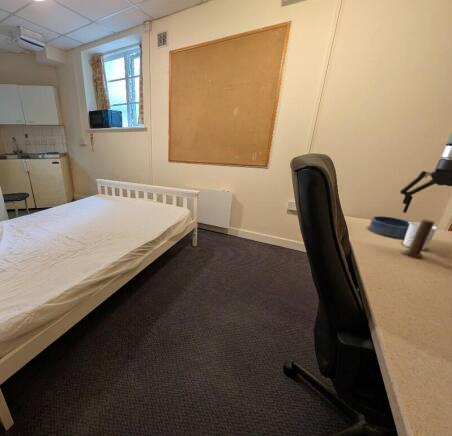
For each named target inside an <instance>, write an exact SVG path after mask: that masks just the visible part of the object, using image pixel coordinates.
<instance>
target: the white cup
mask: <svg viewBox="0 0 452 436" xmlns="http://www.w3.org/2000/svg"><path fill="white" fill-rule="evenodd" d="M410 222H411V223H410V224H409V227H408V230H407V232H406V236H405V238H404V240H403V245H404V246H405V247H407V248H410V246H411V244H412V242H413V239H414V237H415V235H416V233H417V230H418V228H419V226H420V224H421V222H417V221H410ZM437 230H438V227H436V226H435V225H433V227H432V229H431V231H430V233H429V235H428V238H427V240H426V242H425V244H424V246H423V248H422V250H421V251H423V250H426V249H427V247H428V245H429V244H430V243H431V240H432V239H433V237H434V235H435V233H436V232H437Z"/></svg>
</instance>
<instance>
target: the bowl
mask: <svg viewBox="0 0 452 436" xmlns="http://www.w3.org/2000/svg"><path fill="white" fill-rule="evenodd" d="M411 222H412V221H408V220H406V219H401V218H397V217H391V216H385V215H384V216H383V215H376V216H372V218H371V220H370V223H369V225H368V229H369V230H371V231H372V232H374V233H376V234H377V235H382V236H385V237H390V238H395V239H405V236H406V232H407V230H408V227H409V224H410V223H411Z"/></svg>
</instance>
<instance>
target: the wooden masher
mask: <svg viewBox="0 0 452 436" xmlns="http://www.w3.org/2000/svg"><path fill="white" fill-rule="evenodd" d="M435 222H436V221H433V220H430V219H421V221H420V223H421V224H420V226H419V228H418V230H417V233H416V235H415V237H414V239H413V242H412V244H411V246H410V247H408V248H409V249H405V250H404V252H403V253H404V255H405V256H407V257H410V258H413V259H422V258H423V256H424V254H423V253H421V252H422V251H423V250H422V248H423V246H424V244H425V242H426V240H427V238H428V235H429V233H430V231H431V229H432V227H433V226H435Z"/></svg>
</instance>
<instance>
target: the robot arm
mask: <svg viewBox="0 0 452 436" xmlns="http://www.w3.org/2000/svg"><path fill="white" fill-rule="evenodd" d="M429 176H430V177H431V179H430V180H428V181H427V182H425V183H423V184H421V185H419V186H416V187H415V188H413V187H414V186H415V185H417V184H418V183H420V182H421V181H422V180H423V179H424V178H427V177H429ZM433 185H438V186H446V187H452V131H451V132H450V134H449V137H448V139H447V141H446V144H445V146H444V148H443V150H442V153H441V154H440V159H438V161H437V164H436V166H435V168H434V170H433V171H431V172H430V171H426V170H421V171H420V172H419V174H418V176H417V177H415V178H414V179H413V180H411V182H409V183H408V184H406V186H404V187H403V188H402V189H401V190H400V191H399V193H400V194H401V195H404V198H403V200H402V204H403V205H404V207H403V210H402V213H403V214H405V213H407V211H408V209H409V207H410V205H411V203H412V200H413V197H414V196H413V195H415V194H417V193H419V192H421V191H423V190H425V189H427V188H429V187H432V186H433ZM412 188H413V189H412Z"/></svg>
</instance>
